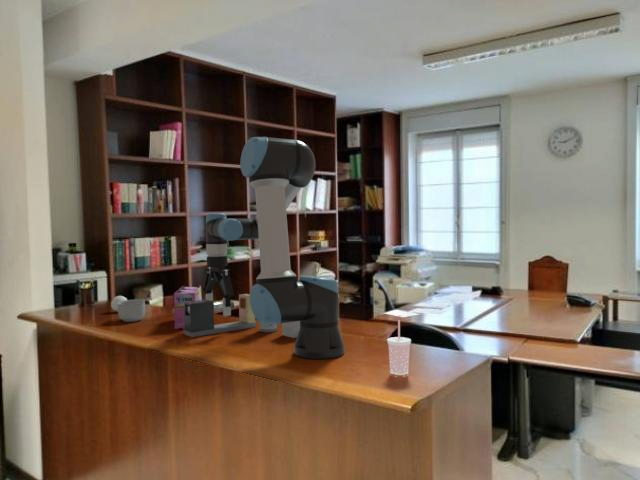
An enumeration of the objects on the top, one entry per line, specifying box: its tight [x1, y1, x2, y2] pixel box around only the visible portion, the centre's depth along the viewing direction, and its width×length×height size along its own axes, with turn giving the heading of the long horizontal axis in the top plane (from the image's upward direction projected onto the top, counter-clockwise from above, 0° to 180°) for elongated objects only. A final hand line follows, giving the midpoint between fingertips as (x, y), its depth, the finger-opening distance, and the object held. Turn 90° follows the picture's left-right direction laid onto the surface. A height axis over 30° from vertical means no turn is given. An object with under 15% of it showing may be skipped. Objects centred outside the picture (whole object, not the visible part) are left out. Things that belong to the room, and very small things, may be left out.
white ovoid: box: [110, 295, 128, 313], centre depth 230 cm, size 10×7×7 cm
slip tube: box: [187, 300, 235, 314], centre depth 187 cm, size 17×3×3 cm, turn 129°
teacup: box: [117, 298, 146, 323], centre depth 212 cm, size 14×11×8 cm
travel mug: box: [259, 322, 278, 334], centre depth 187 cm, size 6×7×20 cm
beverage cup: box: [386, 319, 412, 375], centre depth 133 cm, size 6×6×14 cm
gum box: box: [173, 285, 203, 330], centre depth 205 cm, size 24×8×14 cm, turn 6°
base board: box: [183, 321, 257, 338], centre depth 189 cm, size 26×7×2 cm, turn 129°
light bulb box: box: [281, 321, 300, 339], centre depth 181 cm, size 11×7×11 cm, turn 135°
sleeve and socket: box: [184, 293, 256, 332], centre depth 189 cm, size 26×6×10 cm, turn 129°
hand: (218, 313), depth 189 cm, fingers open, 13 cm apart
